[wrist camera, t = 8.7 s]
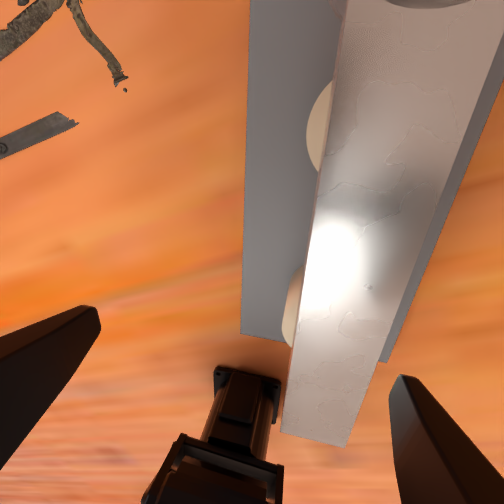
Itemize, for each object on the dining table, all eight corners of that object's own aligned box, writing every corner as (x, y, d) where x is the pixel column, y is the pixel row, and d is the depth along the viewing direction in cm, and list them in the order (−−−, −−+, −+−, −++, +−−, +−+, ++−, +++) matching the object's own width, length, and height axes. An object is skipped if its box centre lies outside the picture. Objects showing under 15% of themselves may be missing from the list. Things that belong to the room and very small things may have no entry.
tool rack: (383, 347, 21) (399, 416, 17) (244, 320, 23) (225, 376, 19) (524, -19, 11) (669, -106, 7) (258, -14, 13) (221, -77, 8)
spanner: (356, 378, 16) (365, 458, 12) (274, 361, 17) (260, 431, 13) (560, -223, 6) (896, -678, 3) (337, -194, 7) (353, -506, 3)
